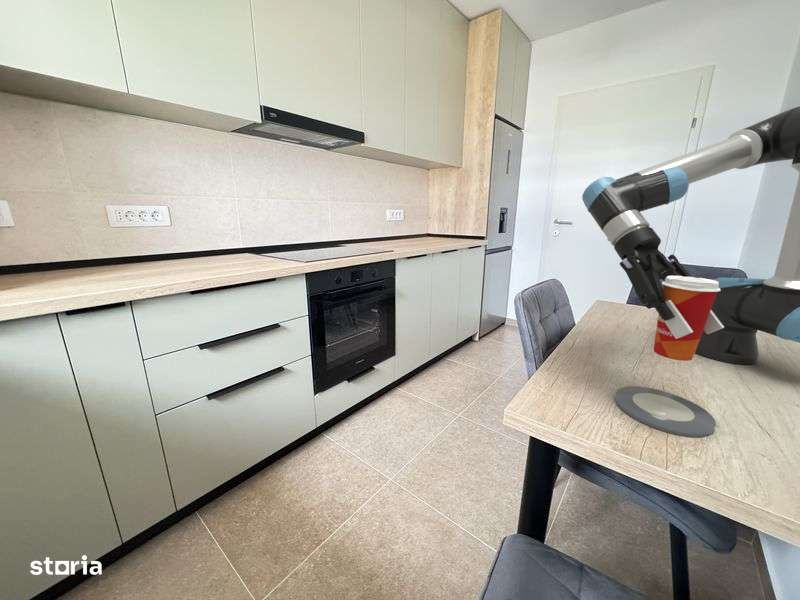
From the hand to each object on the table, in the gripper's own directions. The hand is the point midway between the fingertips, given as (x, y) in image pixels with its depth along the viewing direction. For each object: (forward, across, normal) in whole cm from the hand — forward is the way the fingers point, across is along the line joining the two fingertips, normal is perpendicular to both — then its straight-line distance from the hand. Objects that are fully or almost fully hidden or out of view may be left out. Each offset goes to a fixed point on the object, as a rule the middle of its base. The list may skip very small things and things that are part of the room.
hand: (700, 332), depth 58 cm
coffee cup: (+2, 0, -7) cm, 7 cm away
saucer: (+11, 0, -15) cm, 19 cm away
